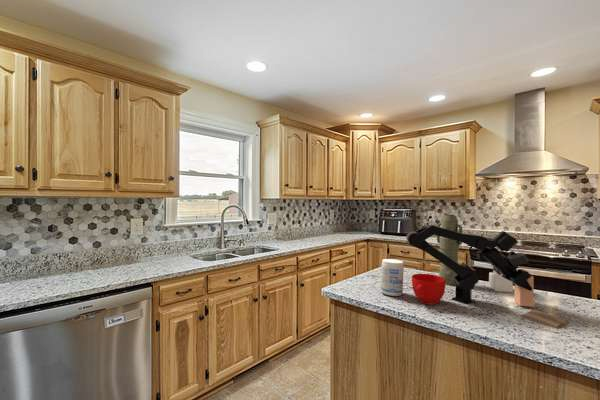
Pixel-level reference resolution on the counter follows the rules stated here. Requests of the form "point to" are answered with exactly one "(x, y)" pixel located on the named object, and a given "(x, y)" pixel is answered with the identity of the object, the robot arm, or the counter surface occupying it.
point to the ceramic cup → (428, 287)
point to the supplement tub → (392, 277)
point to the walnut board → (545, 318)
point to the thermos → (449, 247)
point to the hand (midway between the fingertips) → (527, 288)
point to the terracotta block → (524, 294)
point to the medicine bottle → (499, 282)
